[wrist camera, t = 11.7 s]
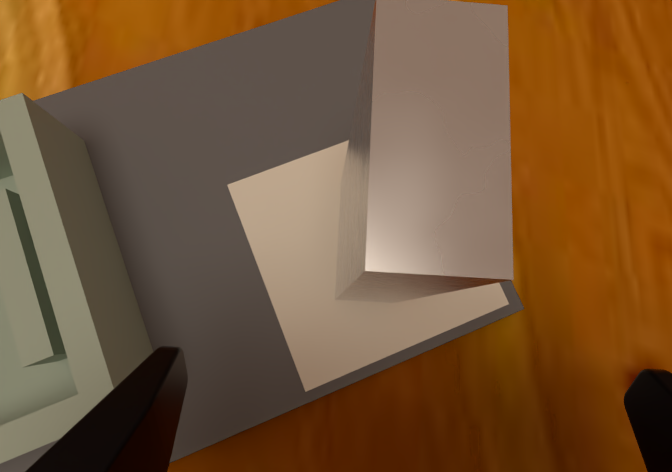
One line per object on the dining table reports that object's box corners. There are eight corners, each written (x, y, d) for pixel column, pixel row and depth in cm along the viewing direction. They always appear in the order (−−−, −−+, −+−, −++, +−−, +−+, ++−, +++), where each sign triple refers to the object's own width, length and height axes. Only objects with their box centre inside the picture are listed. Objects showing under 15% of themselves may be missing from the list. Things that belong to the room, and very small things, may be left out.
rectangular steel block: (393, 303, 18) (513, 280, 7) (334, 299, 18) (364, 271, 7) (397, 185, 19) (507, 5, 8) (341, 181, 19) (376, -6, 8)
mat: (518, 309, 19) (525, 308, 18) (-88, 572, 16) (-104, 582, 15) (372, -4, 21) (374, -13, 21) (-176, 177, 18) (-192, 172, 18)
